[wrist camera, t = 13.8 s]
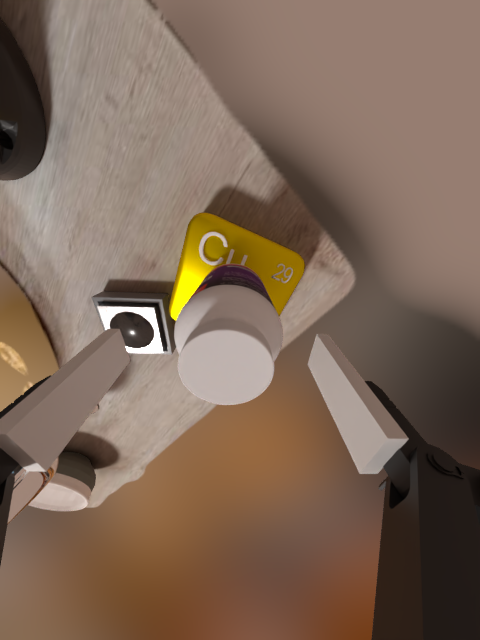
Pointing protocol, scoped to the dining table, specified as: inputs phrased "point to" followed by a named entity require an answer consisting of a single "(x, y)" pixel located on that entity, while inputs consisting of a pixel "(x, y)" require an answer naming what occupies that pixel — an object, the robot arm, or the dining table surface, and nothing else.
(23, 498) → the wineglass
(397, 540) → the robot arm
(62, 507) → the bowl
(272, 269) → the element tile
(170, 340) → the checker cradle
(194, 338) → the pill bottle
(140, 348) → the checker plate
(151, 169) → the dining table surface
